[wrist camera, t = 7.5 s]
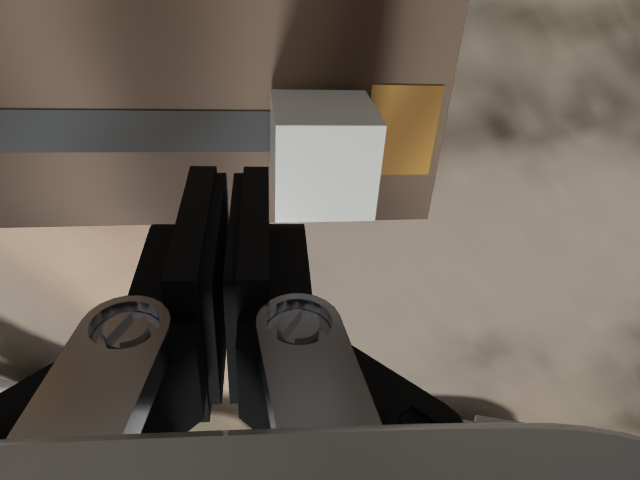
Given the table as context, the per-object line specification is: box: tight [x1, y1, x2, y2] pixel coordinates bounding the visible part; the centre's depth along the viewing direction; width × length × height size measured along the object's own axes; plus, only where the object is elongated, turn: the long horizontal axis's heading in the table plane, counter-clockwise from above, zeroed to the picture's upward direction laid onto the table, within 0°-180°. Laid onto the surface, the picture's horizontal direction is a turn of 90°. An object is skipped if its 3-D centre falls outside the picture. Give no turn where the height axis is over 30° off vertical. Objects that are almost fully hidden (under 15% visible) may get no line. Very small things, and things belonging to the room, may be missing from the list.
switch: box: [270, 89, 387, 223], centre depth 16 cm, size 3×3×3 cm
